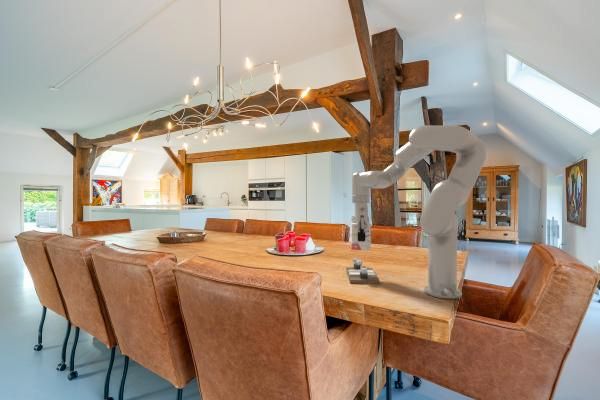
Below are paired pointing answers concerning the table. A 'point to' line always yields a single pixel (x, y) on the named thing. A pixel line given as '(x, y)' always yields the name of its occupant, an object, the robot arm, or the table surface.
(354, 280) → the board
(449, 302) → the table surface
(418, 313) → the table surface
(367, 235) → the ink cartridge box
